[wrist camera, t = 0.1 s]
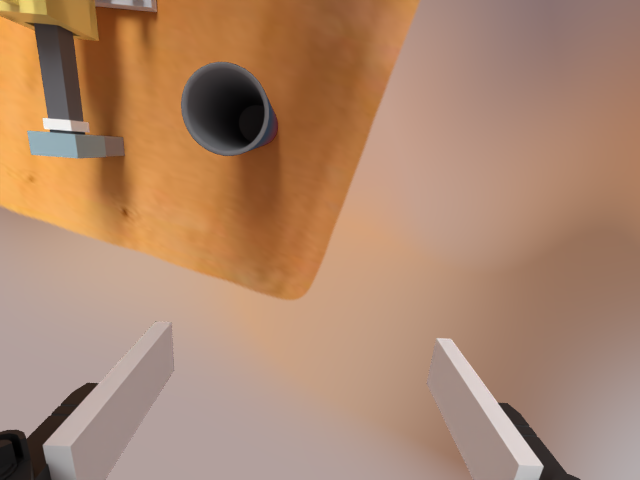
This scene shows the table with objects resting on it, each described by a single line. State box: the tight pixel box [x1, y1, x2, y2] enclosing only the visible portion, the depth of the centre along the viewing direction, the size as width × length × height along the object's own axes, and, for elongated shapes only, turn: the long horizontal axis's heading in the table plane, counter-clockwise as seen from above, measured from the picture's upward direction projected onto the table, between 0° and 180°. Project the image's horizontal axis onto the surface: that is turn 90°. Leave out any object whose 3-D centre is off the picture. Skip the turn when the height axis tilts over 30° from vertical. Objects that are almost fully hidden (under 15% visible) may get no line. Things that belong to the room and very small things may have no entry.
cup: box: [181, 62, 278, 156], centre depth 32 cm, size 7×7×15 cm
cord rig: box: [27, 0, 157, 158], centre depth 32 cm, size 21×13×9 cm, turn 176°
